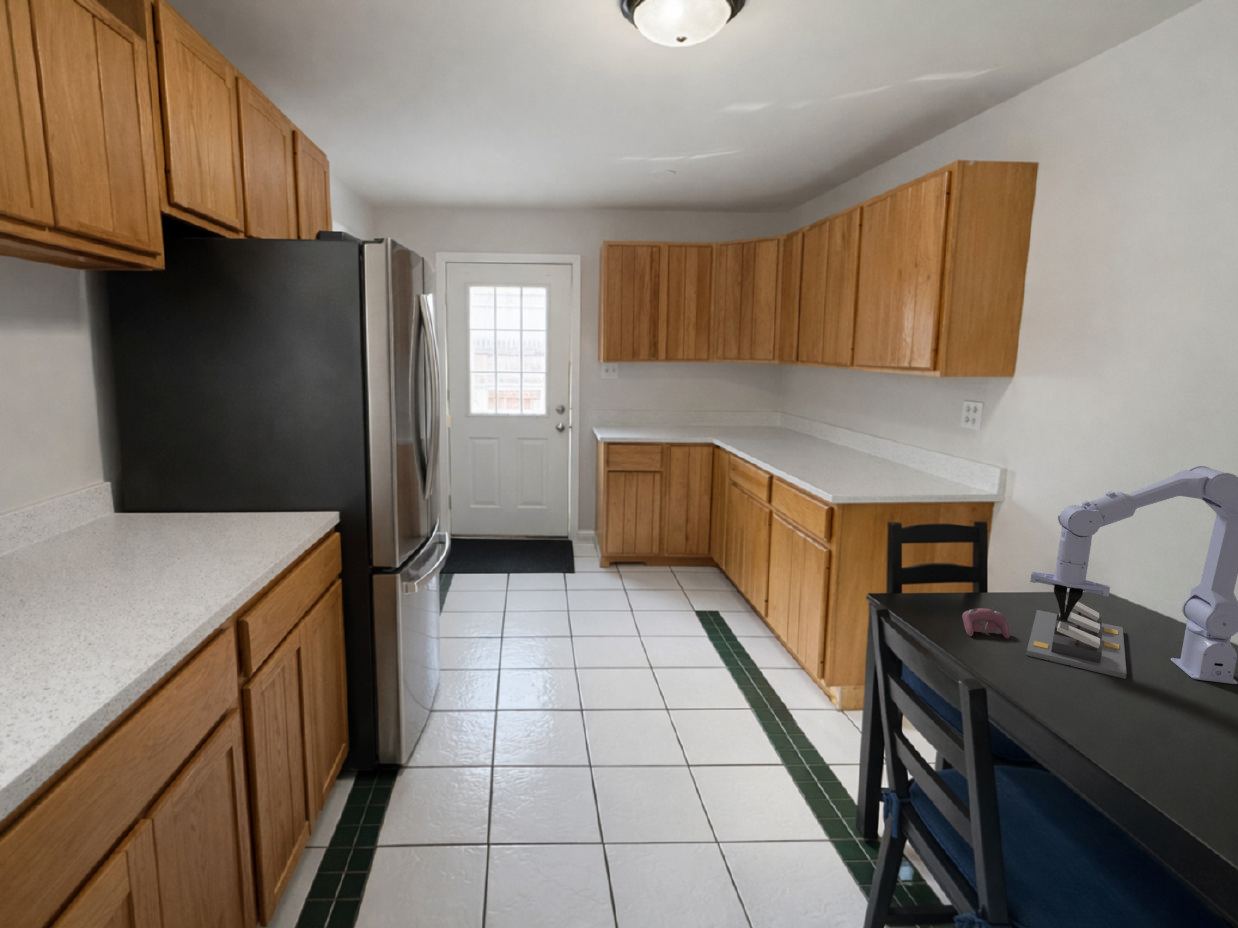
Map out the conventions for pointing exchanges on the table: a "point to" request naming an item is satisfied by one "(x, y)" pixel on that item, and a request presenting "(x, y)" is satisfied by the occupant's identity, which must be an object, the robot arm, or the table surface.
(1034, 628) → the switch board
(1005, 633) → the video game controller
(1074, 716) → the table surface
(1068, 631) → the rocker near
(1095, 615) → the rocker far
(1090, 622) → the rocker middle
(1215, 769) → the table surface
